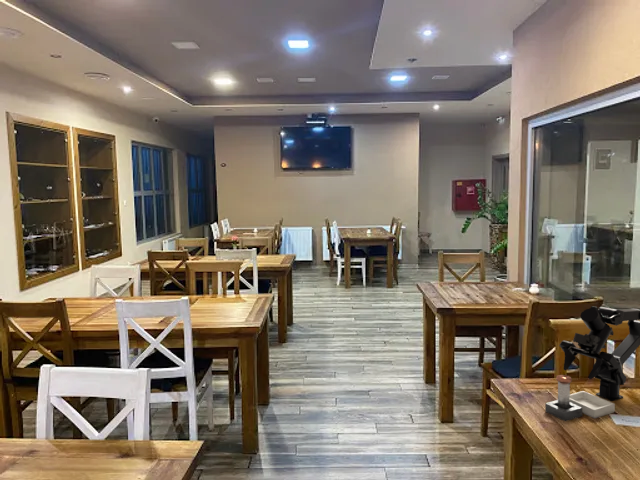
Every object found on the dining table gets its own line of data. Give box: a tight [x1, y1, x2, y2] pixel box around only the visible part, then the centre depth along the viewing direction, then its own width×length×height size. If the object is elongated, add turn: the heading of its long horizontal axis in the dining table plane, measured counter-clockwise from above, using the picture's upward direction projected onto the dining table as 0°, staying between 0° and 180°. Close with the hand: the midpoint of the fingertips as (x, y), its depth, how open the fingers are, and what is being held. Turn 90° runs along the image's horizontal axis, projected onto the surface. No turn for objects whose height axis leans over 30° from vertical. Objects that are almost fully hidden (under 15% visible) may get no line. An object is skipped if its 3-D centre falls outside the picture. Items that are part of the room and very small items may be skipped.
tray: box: [570, 390, 616, 420], centre depth 166 cm, size 10×12×3 cm
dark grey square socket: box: [544, 399, 583, 422], centre depth 163 cm, size 8×8×3 cm
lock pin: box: [556, 374, 573, 410], centre depth 162 cm, size 5×5×13 cm
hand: (576, 374), depth 165 cm, fingers open, 9 cm apart
